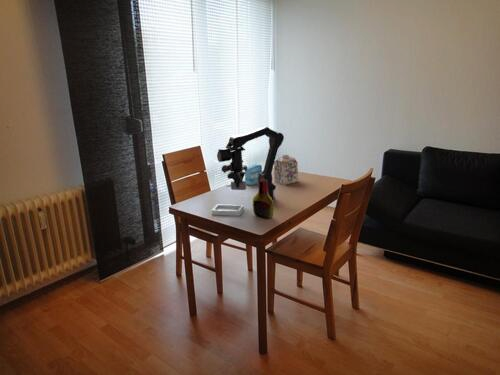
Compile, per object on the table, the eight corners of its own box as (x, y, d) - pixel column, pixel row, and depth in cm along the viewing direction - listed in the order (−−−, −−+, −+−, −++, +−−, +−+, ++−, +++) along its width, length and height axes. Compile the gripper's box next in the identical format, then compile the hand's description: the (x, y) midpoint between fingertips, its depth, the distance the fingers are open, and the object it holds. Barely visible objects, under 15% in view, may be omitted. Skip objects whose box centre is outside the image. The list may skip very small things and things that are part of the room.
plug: (246, 188, 199) (246, 181, 198) (245, 190, 196) (244, 183, 194) (228, 187, 202) (227, 180, 200) (226, 189, 198) (225, 182, 197)
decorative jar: (288, 178, 247) (287, 152, 242) (298, 181, 238) (298, 155, 232) (273, 181, 242) (272, 155, 236) (283, 185, 232) (283, 158, 227)
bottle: (276, 216, 182) (275, 179, 176) (269, 221, 177) (267, 182, 171) (258, 212, 189) (256, 176, 183) (250, 216, 185) (248, 179, 179)
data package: (250, 185, 235) (249, 168, 231) (245, 184, 238) (244, 167, 235) (262, 181, 243) (261, 164, 239) (257, 180, 246) (257, 163, 242)
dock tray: (243, 209, 194) (243, 205, 194) (239, 215, 186) (239, 211, 185) (217, 208, 198) (217, 204, 197) (212, 214, 190) (211, 210, 189)
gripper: (227, 155, 204) (229, 181, 209) (217, 163, 187) (219, 191, 191) (246, 155, 201) (248, 182, 206) (237, 163, 184) (239, 192, 189)
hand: (238, 186), depth 198 cm, fingers closed on plug, 4 cm apart
